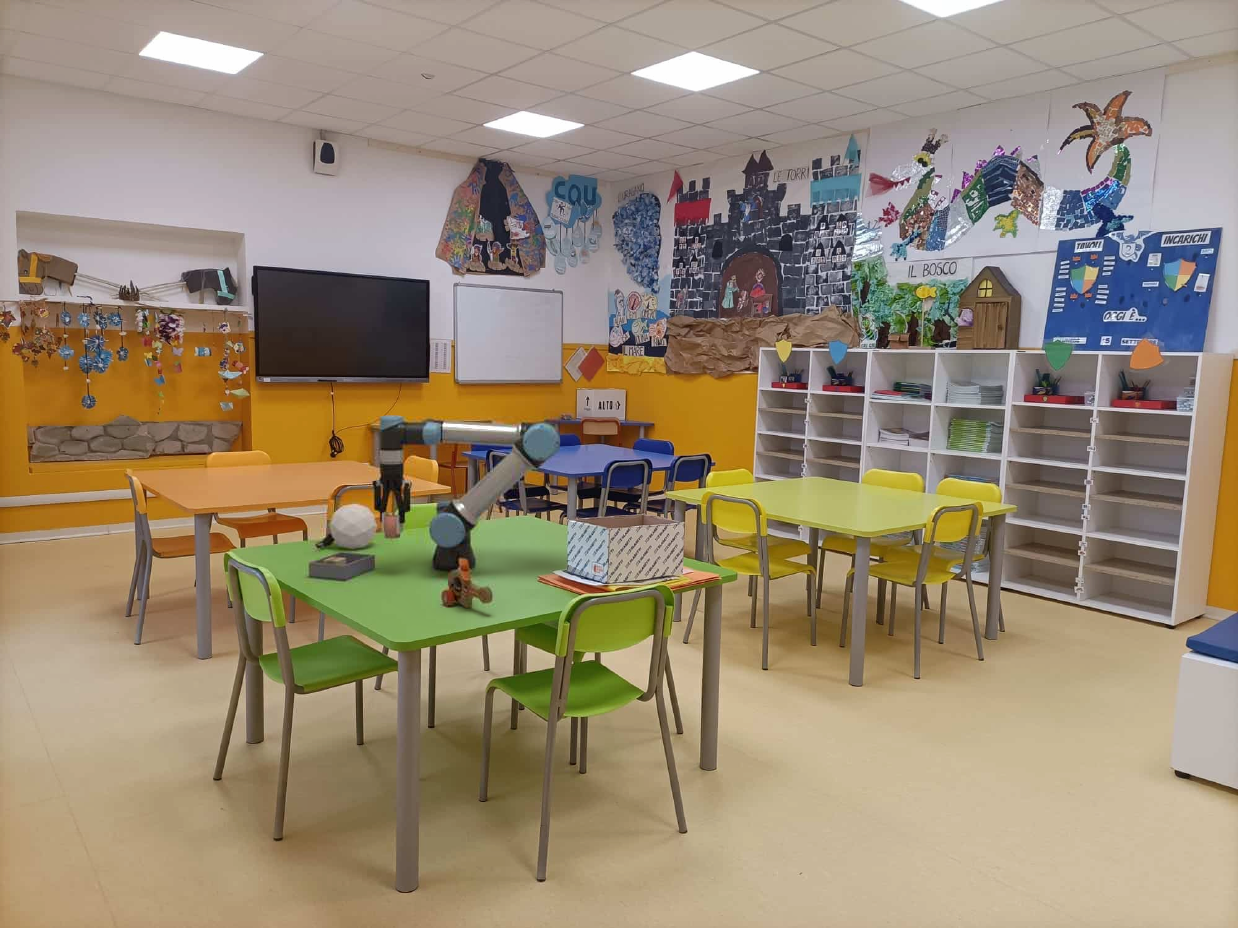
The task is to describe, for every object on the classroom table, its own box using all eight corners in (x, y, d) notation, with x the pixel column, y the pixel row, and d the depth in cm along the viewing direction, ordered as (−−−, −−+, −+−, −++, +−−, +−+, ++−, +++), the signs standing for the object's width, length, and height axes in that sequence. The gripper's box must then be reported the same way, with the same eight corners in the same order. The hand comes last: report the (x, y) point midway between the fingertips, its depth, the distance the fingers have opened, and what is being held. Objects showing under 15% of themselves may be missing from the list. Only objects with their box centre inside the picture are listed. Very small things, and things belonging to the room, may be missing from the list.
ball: (377, 536, 321) (347, 480, 322) (318, 569, 321) (288, 513, 323) (391, 534, 339) (362, 481, 340) (335, 565, 339) (307, 512, 340)
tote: (340, 565, 303) (340, 551, 302) (375, 569, 299) (374, 554, 298) (309, 577, 286) (308, 562, 285) (344, 581, 282) (344, 566, 281)
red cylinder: (403, 536, 290) (402, 515, 289) (395, 538, 285) (395, 517, 285) (389, 534, 292) (389, 514, 291) (381, 537, 287) (381, 516, 286)
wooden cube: (346, 572, 290) (345, 557, 289) (337, 576, 285) (337, 561, 285) (333, 571, 291) (332, 556, 291) (324, 574, 287) (323, 560, 286)
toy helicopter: (462, 598, 264) (462, 554, 262) (502, 613, 249) (502, 566, 247) (438, 603, 258) (438, 558, 257) (478, 619, 243) (478, 571, 242)
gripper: (421, 462, 287) (422, 532, 290) (374, 460, 292) (375, 528, 295) (409, 465, 280) (410, 536, 282) (361, 462, 285) (362, 532, 287)
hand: (392, 532), depth 288 cm, fingers closed on red cylinder, 5 cm apart
